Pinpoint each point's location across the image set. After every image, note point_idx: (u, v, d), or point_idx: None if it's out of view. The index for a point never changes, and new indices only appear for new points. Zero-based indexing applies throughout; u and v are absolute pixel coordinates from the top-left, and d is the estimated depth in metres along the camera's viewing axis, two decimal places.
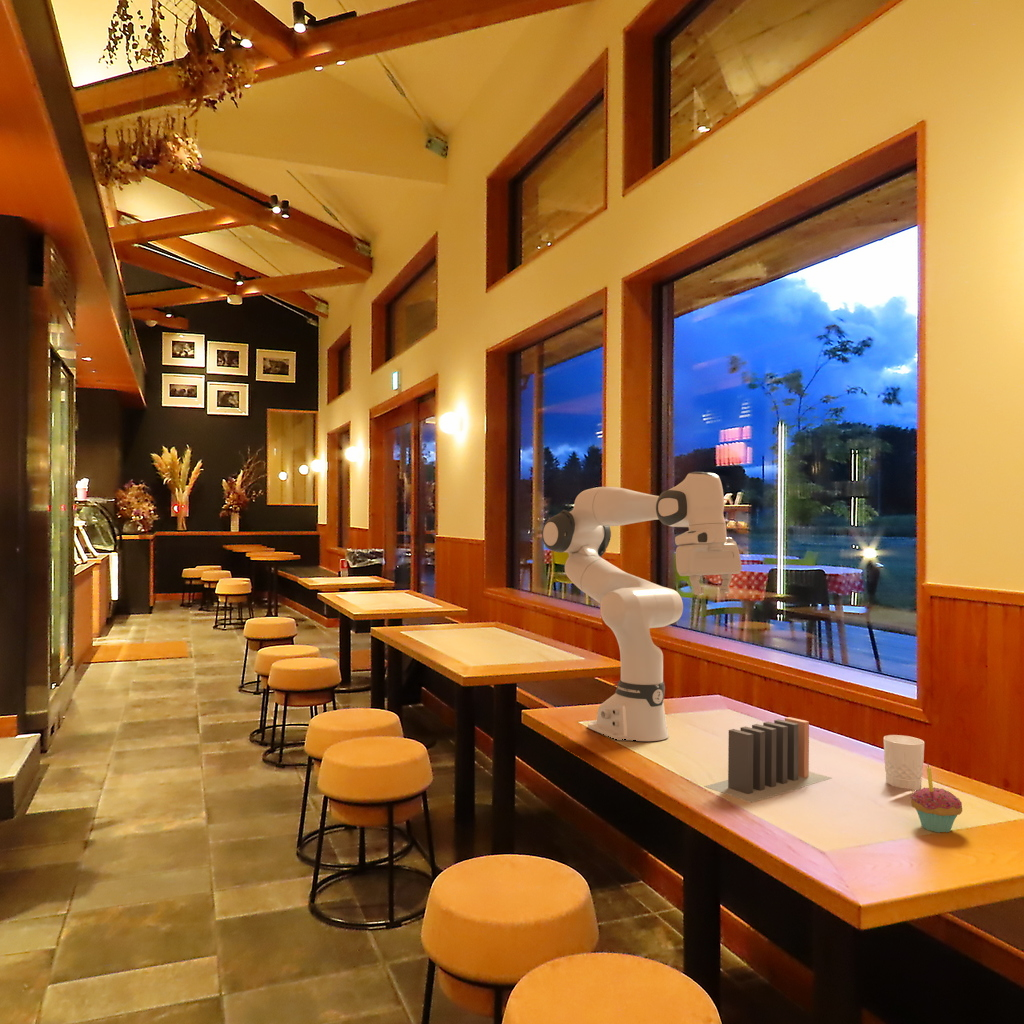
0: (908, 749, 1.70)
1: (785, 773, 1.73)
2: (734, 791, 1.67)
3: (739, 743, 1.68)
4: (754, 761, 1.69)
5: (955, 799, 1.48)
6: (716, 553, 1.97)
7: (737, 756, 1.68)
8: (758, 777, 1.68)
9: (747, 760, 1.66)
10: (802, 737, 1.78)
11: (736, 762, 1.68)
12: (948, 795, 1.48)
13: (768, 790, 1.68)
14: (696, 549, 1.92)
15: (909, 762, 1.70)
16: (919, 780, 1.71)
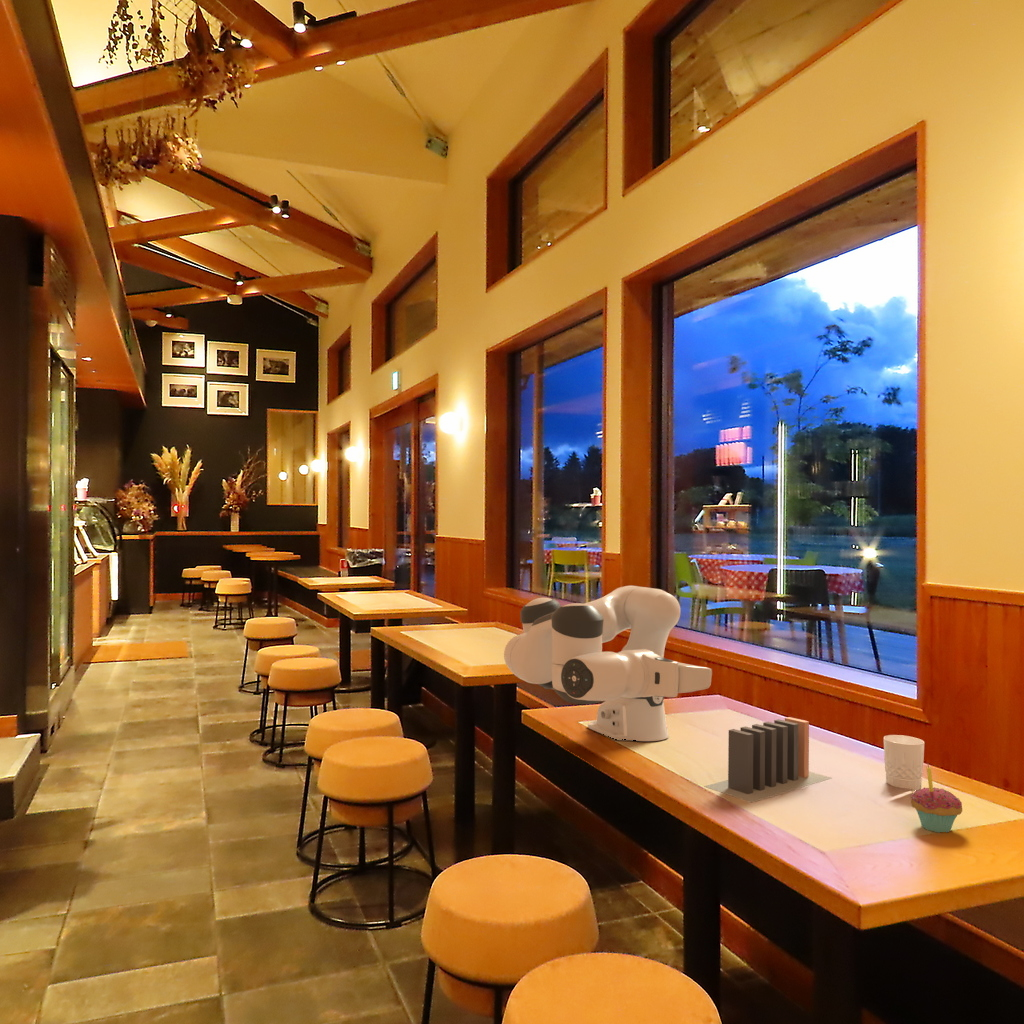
0: (908, 749, 1.70)
1: (785, 773, 1.73)
2: (734, 791, 1.67)
3: (739, 743, 1.68)
4: (754, 761, 1.69)
5: (955, 799, 1.48)
6: None
7: (737, 756, 1.68)
8: (758, 777, 1.68)
9: (747, 760, 1.66)
10: (802, 737, 1.78)
11: (736, 762, 1.68)
12: (948, 795, 1.48)
13: (768, 790, 1.68)
14: None
15: (909, 762, 1.70)
16: (919, 780, 1.71)
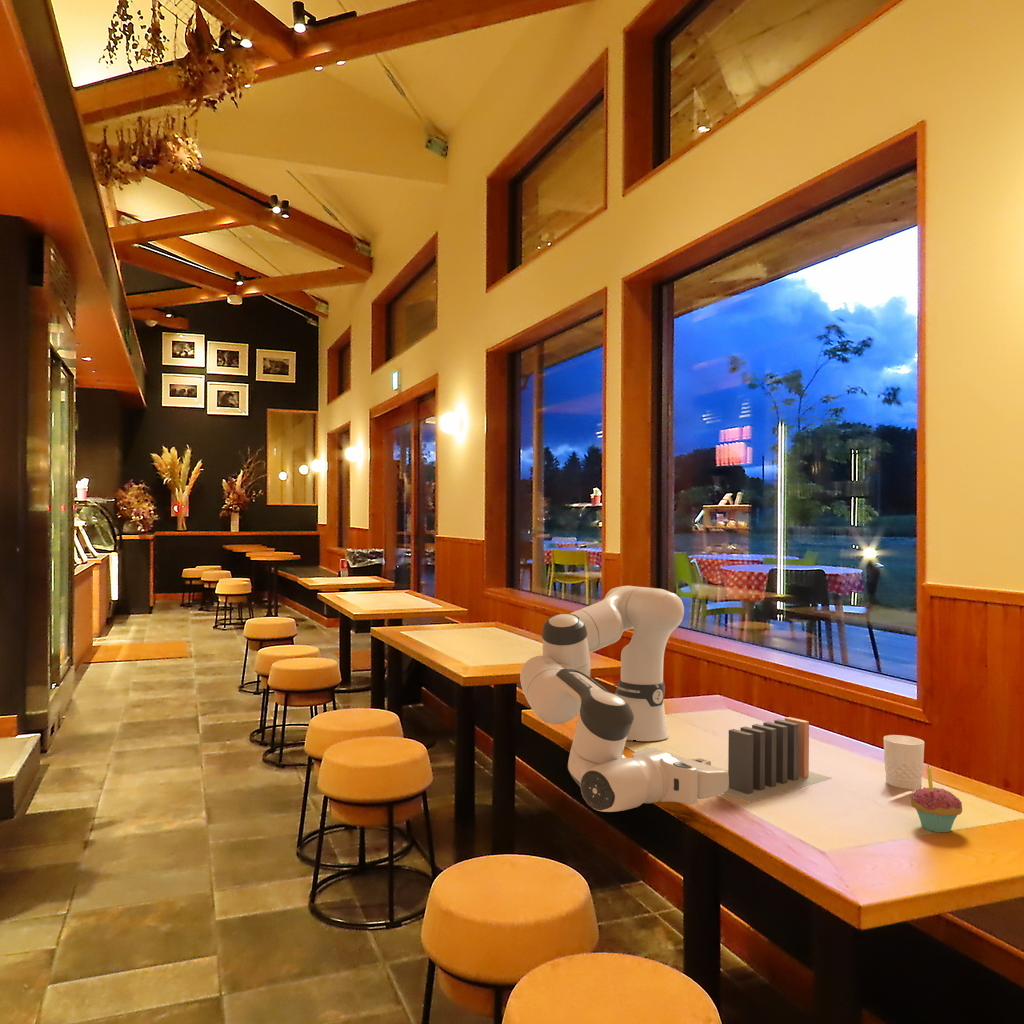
0: (908, 749, 1.70)
1: (785, 773, 1.73)
2: (734, 791, 1.67)
3: (739, 743, 1.68)
4: (754, 761, 1.69)
5: (955, 799, 1.48)
6: None
7: (737, 756, 1.68)
8: (758, 777, 1.68)
9: (747, 760, 1.66)
10: (802, 737, 1.78)
11: (736, 762, 1.68)
12: (948, 795, 1.48)
13: (768, 790, 1.68)
14: None
15: (909, 762, 1.70)
16: (919, 780, 1.71)
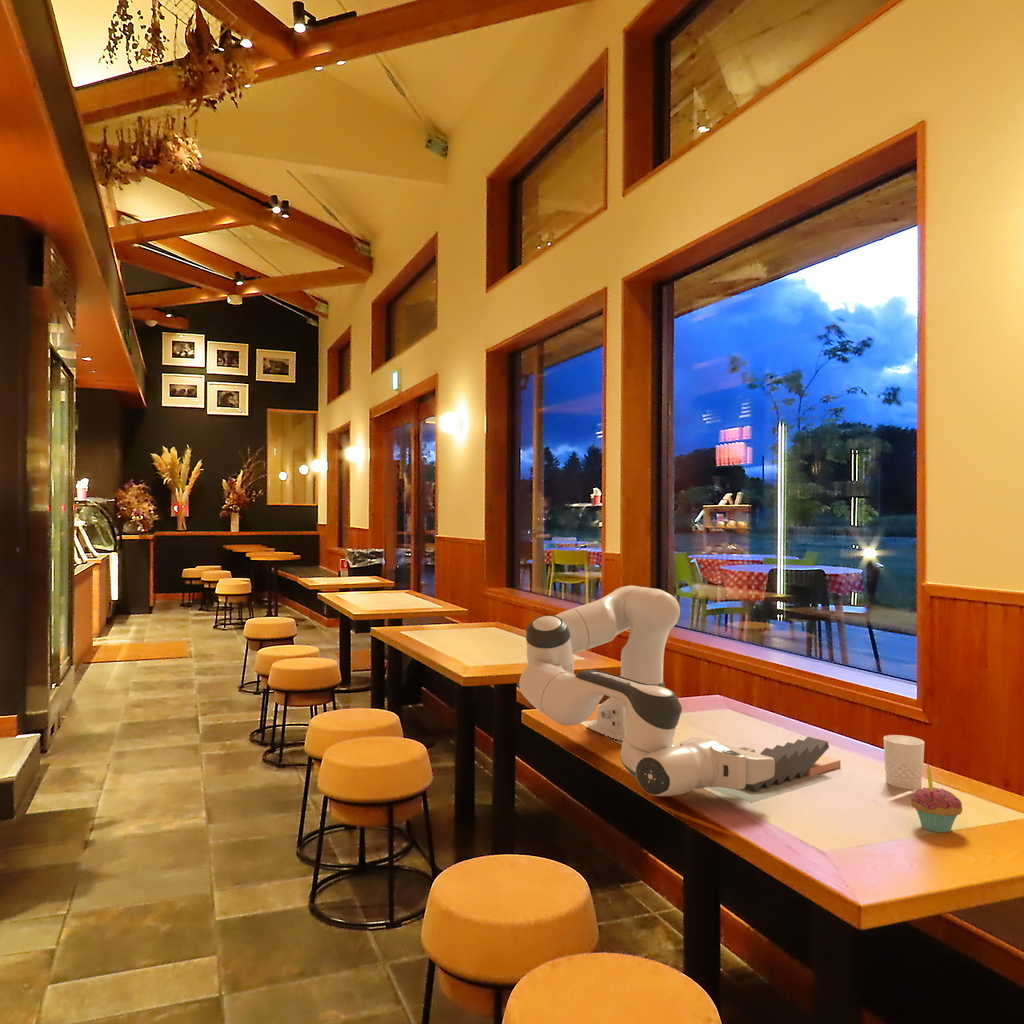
0: (908, 749, 1.70)
1: (794, 773, 1.75)
2: (734, 791, 1.67)
3: (771, 756, 1.74)
4: None
5: (955, 799, 1.48)
6: None
7: None
8: None
9: None
10: (829, 762, 1.84)
11: None
12: (948, 795, 1.48)
13: (768, 790, 1.68)
14: None
15: (909, 762, 1.70)
16: (919, 780, 1.71)
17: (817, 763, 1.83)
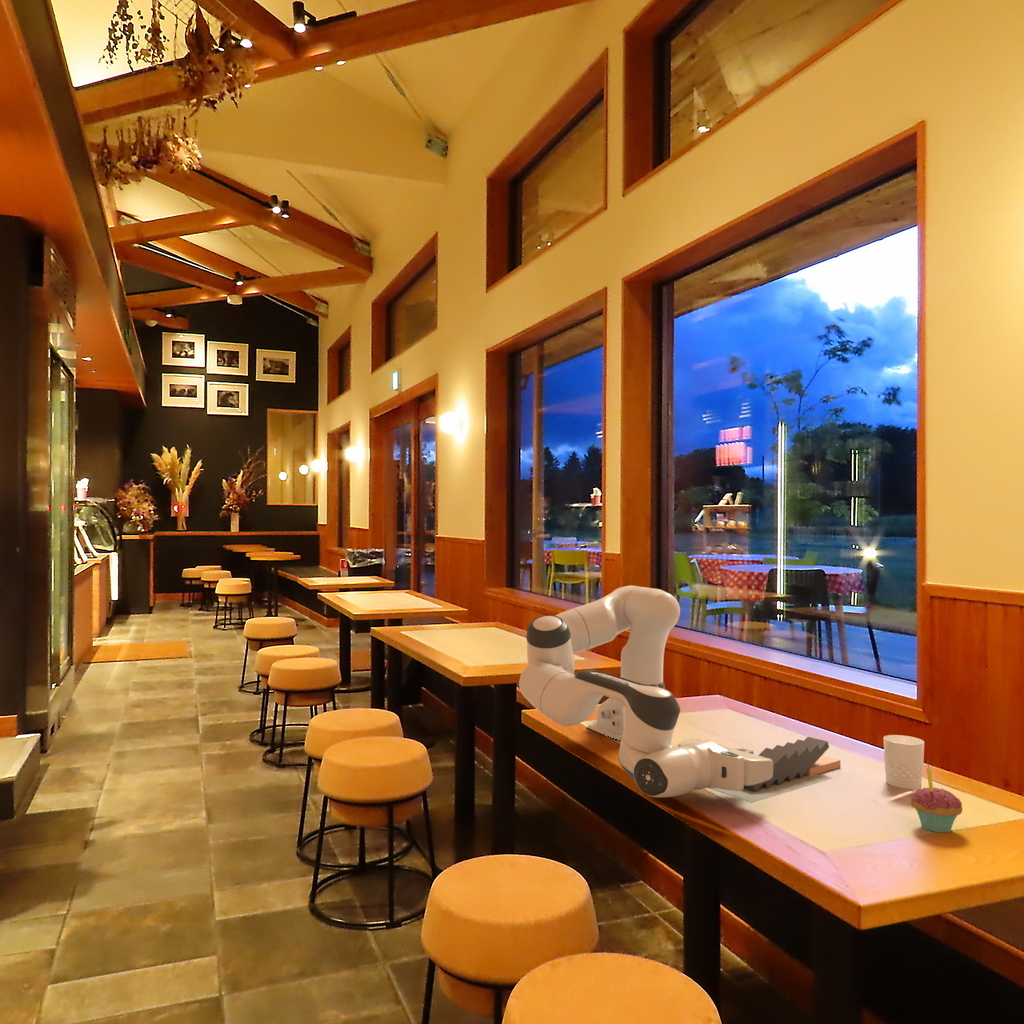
0: (908, 749, 1.70)
1: (794, 773, 1.75)
2: (734, 791, 1.67)
3: (771, 756, 1.74)
4: None
5: (955, 799, 1.48)
6: None
7: None
8: None
9: None
10: (829, 762, 1.84)
11: None
12: (948, 795, 1.48)
13: (768, 790, 1.68)
14: None
15: (909, 762, 1.70)
16: (919, 780, 1.71)
17: (817, 763, 1.83)
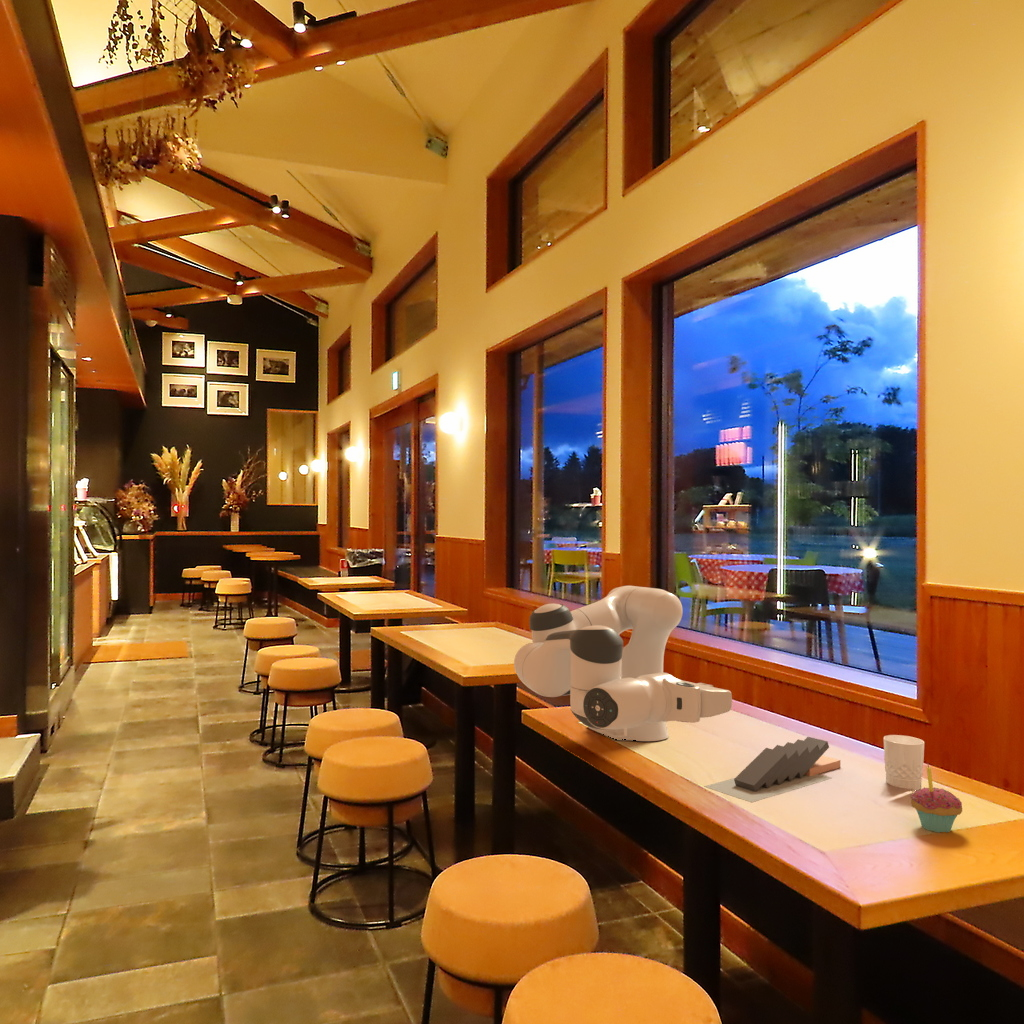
0: (908, 749, 1.70)
1: (794, 773, 1.75)
2: (734, 791, 1.67)
3: (771, 756, 1.74)
4: None
5: (955, 799, 1.48)
6: None
7: (762, 763, 1.73)
8: None
9: (771, 766, 1.71)
10: (829, 762, 1.84)
11: (757, 766, 1.72)
12: (948, 795, 1.48)
13: (768, 790, 1.68)
14: None
15: (909, 762, 1.70)
16: (919, 780, 1.71)
17: (817, 763, 1.83)
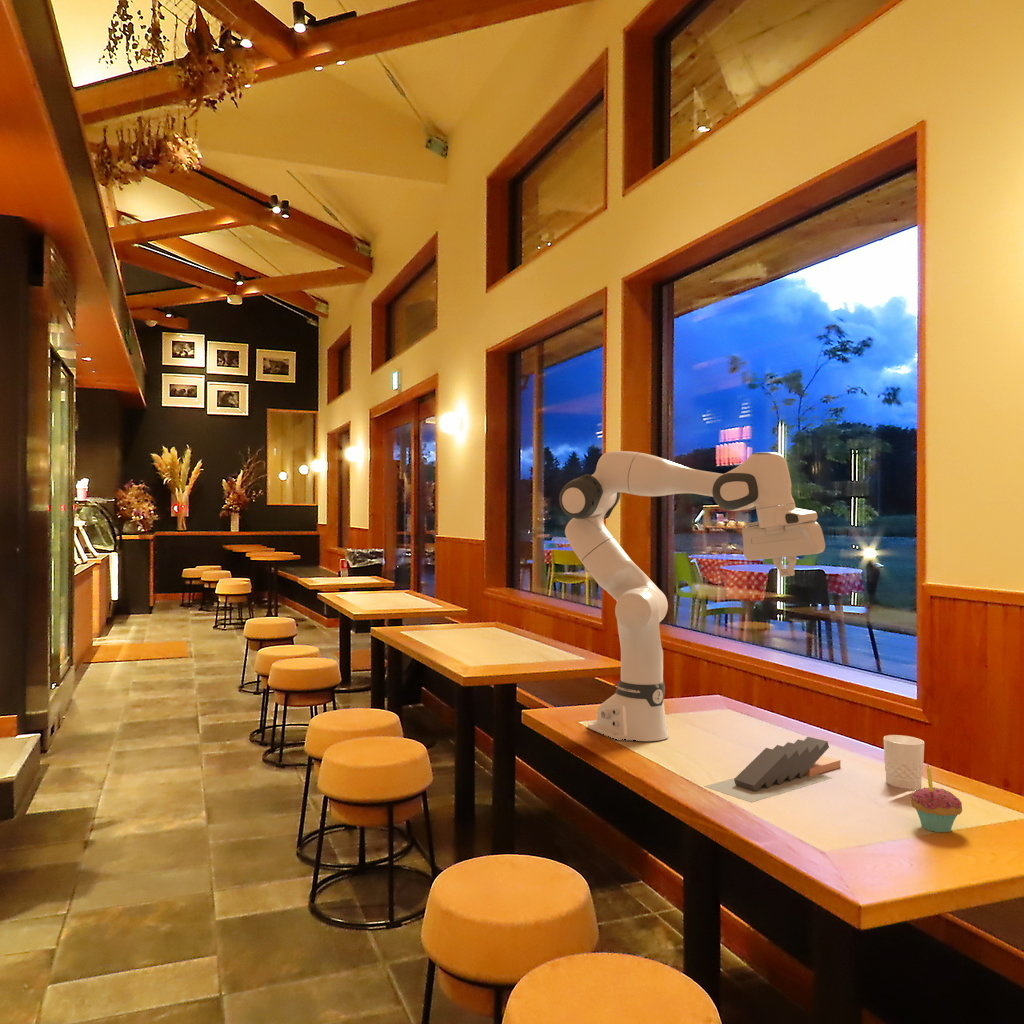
0: (908, 749, 1.70)
1: (794, 773, 1.75)
2: (734, 791, 1.67)
3: (771, 756, 1.74)
4: None
5: (955, 799, 1.48)
6: None
7: (762, 763, 1.73)
8: None
9: (771, 766, 1.71)
10: (829, 762, 1.84)
11: (757, 766, 1.72)
12: (948, 795, 1.48)
13: (768, 790, 1.68)
14: None
15: (909, 762, 1.70)
16: (919, 780, 1.71)
17: (817, 763, 1.83)
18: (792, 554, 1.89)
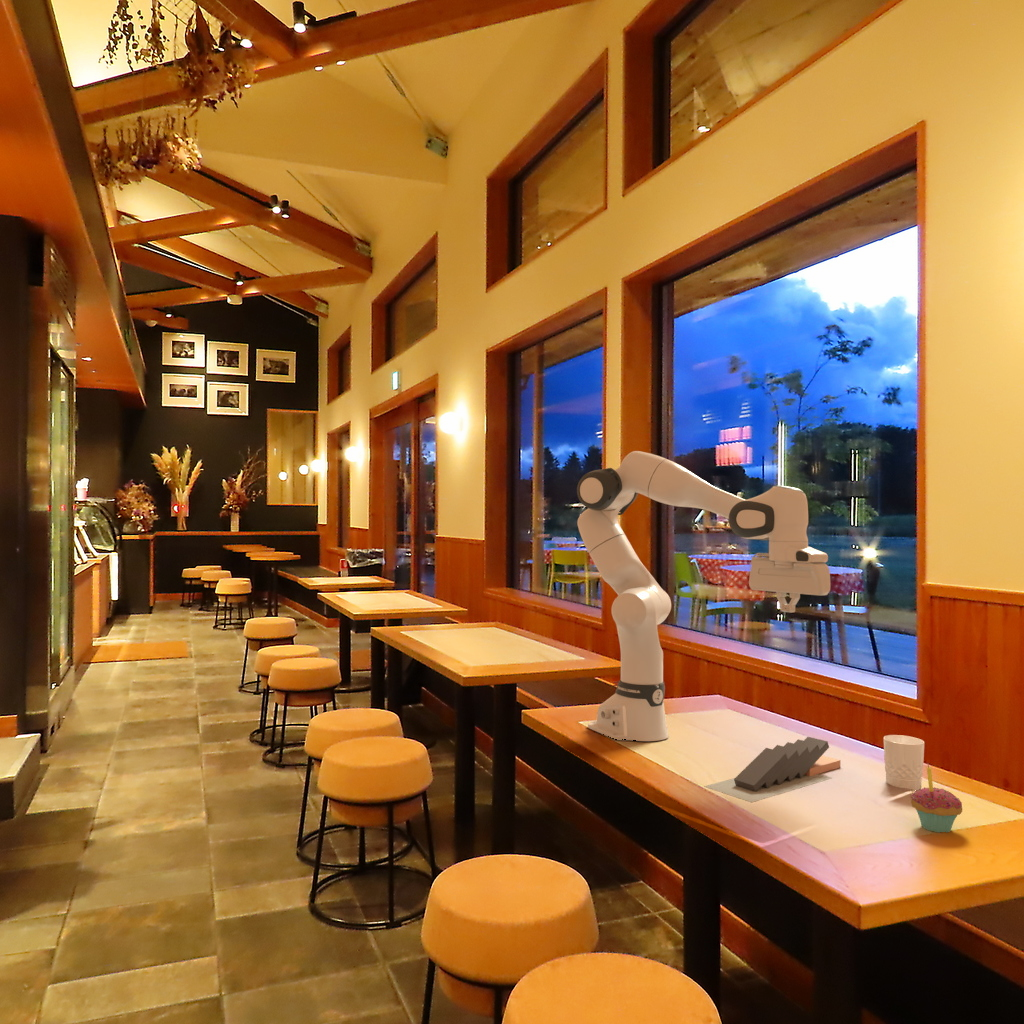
0: (908, 749, 1.70)
1: (794, 773, 1.75)
2: (734, 791, 1.67)
3: (771, 756, 1.74)
4: None
5: (955, 799, 1.48)
6: None
7: (762, 763, 1.73)
8: None
9: (771, 766, 1.71)
10: (829, 762, 1.84)
11: (757, 766, 1.72)
12: (948, 795, 1.48)
13: (768, 790, 1.68)
14: None
15: (909, 762, 1.70)
16: (919, 780, 1.71)
17: (817, 763, 1.83)
18: (796, 591, 1.90)
